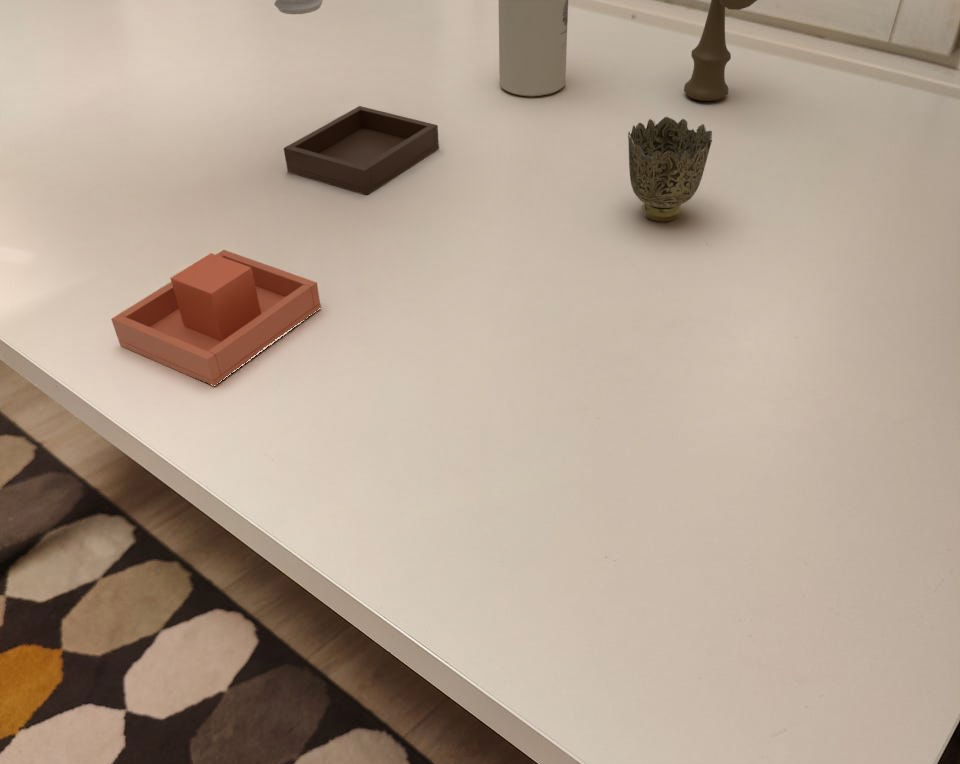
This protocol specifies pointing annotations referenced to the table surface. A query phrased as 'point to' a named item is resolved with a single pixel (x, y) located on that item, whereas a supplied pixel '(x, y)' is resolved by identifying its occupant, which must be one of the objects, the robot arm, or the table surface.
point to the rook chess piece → (297, 6)
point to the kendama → (712, 54)
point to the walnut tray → (362, 149)
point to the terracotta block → (216, 296)
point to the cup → (666, 165)
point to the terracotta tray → (170, 343)
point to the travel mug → (532, 46)
